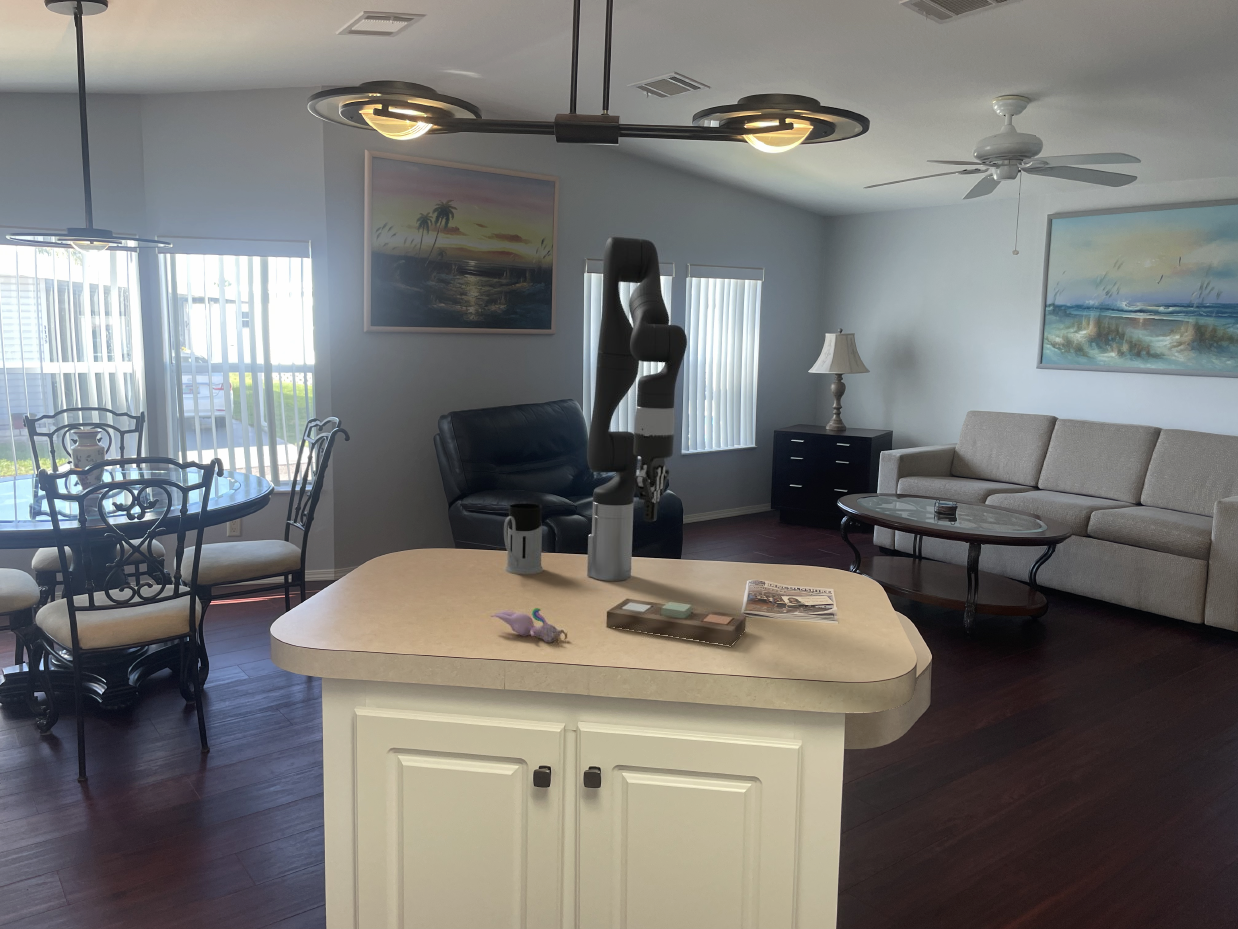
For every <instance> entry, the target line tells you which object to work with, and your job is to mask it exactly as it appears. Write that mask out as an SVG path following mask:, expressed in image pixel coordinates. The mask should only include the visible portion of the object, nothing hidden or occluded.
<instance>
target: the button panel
mask: <svg viewBox="0 0 1238 929" xmlns="http://www.w3.org/2000/svg"><path fill="white" fill-rule="evenodd" d="M629 603H637V604H643V605H650V606H651V608H650V609H649V610H648V611H646V612H645V613H641V612H635V611H628V610H622V608H623V607H624V606H626V605H627V604H629ZM666 604H667V603H660V602H654V601H653V602H652V601H646V600H640V599H633V598H625V599H624V600H622V601H621V602H619V603H618V604H616V605H614V606H613V607H611V608H610V609H608V610H607V611H606V622H605V623H606V624H605V626H606V628H609V627H615V628H614V629H616V628H622V629H629V630H634V631H641V632H647V633H653V634H660V635H668V636H673V637H679V638H686V639H693V640H699V641H705V642H709V643H718V644H723V645H729V646H731V645H732V644H733V643H734V642H735V641H736V640H737V639H738V638H739V637H740V635H742V636H743V634H744V633H745V632H746V626H747V625H746V624H747V623H746V621H747V616H746V615H742V614H737V613H736V614H735V613H729V612H722V611H714V610H707V609H701V608H693V607H692V610H691V615H689V616H688V617H687V618H686V619H681V618H674V617H667V616H661V613H662V607H663V606H665V605H666ZM710 614H711V615H718V616H725V617H732V618H733V621H732V622H731V623H730V624H728V625H720V624H713V623H707V622H703V620H704V619H705V618H706V617H707V616H708V615H710ZM622 629H621V630H622ZM634 631H633V632H634ZM744 631H745V632H744ZM743 632H744V633H743ZM647 633H646V634H647ZM742 633H743V634H742ZM653 634H652V635H653ZM740 638H741V637H740ZM740 638H739V639H740ZM739 639H738V640H739ZM738 640H737V641H738ZM737 641H736V642H737ZM736 642H735V643H736ZM709 643H708V644H709ZM735 643H734V644H735ZM734 644H733V645H734ZM733 645H732V646H733ZM732 646H731V647H732Z"/></svg>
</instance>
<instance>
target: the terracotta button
mask: <svg viewBox="0 0 1238 929" xmlns="http://www.w3.org/2000/svg"><path fill="white" fill-rule="evenodd" d="M732 621H733V618H732V617H725V616H718V615H711V614H710V615H708V616H707V617H706V618H705V619H704V620H703V622H707V623H713V624H720V625H728V624H730V623H731V622H732Z"/></svg>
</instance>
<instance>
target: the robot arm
mask: <svg viewBox="0 0 1238 929" xmlns="http://www.w3.org/2000/svg"><path fill="white" fill-rule="evenodd" d="M603 252H604V253H603V262H602V264H603V266H602V300H601V301H602V302H601V319H600V327H599V336H598V343H597V344H598V345H597V355H596V356H597V357H596V367H595V368H596V372H595V386H594V388H595V389H594V399H593V400H594V401H593V408H592V414H591V421H590V426H589V432H588V438H587V447H586V448H587V451H586V452H587V453H586V458H587V464H588V467H589V469H590V470H591V471H592V472H594V473H615V475H614V477H613V478H612V479H610V481H608V482H606V483H605V484H602V485H600V486H598V487H595V489H594V490H593V493H592V520H591V521H592V522H591V533H590V534H588V537H587V539H588V540H587V544H588V545H587V571H586V573H587V574H586V576H587V577H590V578H594V579H596V580H600V581H608V582H611V581H612V582H613V581H614V582H617V581H624V580H628V578H629V579H630V578H631V576H632V557H633V556H632V554H633V552H632V550H633V528H634V527H633V525H634V523H633V522H634V499H635V493H636V492H637V493H636V494H637V496H638V500H639V501H642V502H643V515H642V516H643V521H644V522H649V523H653V522H654V521H656V520H657V518H658V502H659V501H660V497H661V498H662V497H663V495H664V492H665V489H666V485H667V482H668V478H669V474H670V470H669V469H666V466H665V465H666V463H665V462H666V461H665V459H667V458H671V457H672V456H673V455H674V439H675V436H674V435H675V412H674V411H675V392H676V390H675V389H676V384H677V380H678V374H679V371H680V368H681V366H682V363H683V360H684V356H685V355H686V354H685V353H686V350H687V346H688V337H687V334H686V332H685V330H684V329H683V328H682V327H681V326H679V325H677V324H670V315H669V312H668V308H667V307H666V303H665V301H664V296H663V292H662V283H661V271H660V262H659V255H658V250H657V248H656V245H655V244H654V243H653V242H652V241H651V240H648V239H644V238H634V237H624V236H623V237H622V236H611V237H610V238H608V239H607V241H606V243H605V246H604V251H603ZM620 283H629V284H631V283H633V284H638V285H637V286H636V287H635V288H634V289H633V291H632V292H631V295H630V297H629V300H628V309H629V313H630V317H631V321H632V323H631V322H630V319H629V318H628V315H627V314H626V311H625V308H624V306H623V304H622V300H621V297H620V287H619V284H620ZM640 362H644V363H664V365H663V367H662V369H661V370H660V371H659V372H657V373H653V374H646V375H641V377H639V379H638V381H637V391H636V392H637V393H636V394H637V395H636V409H635V410H636V411H635V416H634V425H633V426H634V429H633V430H634V431H633V432H632V431H625V430H624V431H621V430H620V431H619V430H618V431H614V430H613V431H612V430H610V427H611V422H612V419H613V416H614V414H615V411H616V409H617V408H618V407H619V405H620V403H621V401H622V400H623V399H624V397H625V396H626V395H627V393H628V392H629V390H630V389H631V388H632V387H633V385H634V383H635V381H636V379H637V377H638V374H639V365H640ZM639 457H640V463H639V461H638V460H639ZM638 464H639V468H638ZM637 471H638V473H637ZM637 474H638V475H637Z"/></svg>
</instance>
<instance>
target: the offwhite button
mask: <svg viewBox="0 0 1238 929" xmlns="http://www.w3.org/2000/svg"><path fill="white" fill-rule="evenodd" d="M650 608H651V606H650V605H643V604H637V603H629V604H627V605H626V606H624V607H623V608H622V610H628V611H635V612H641V613H645V612H646V611H648V610H649V609H650Z"/></svg>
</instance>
